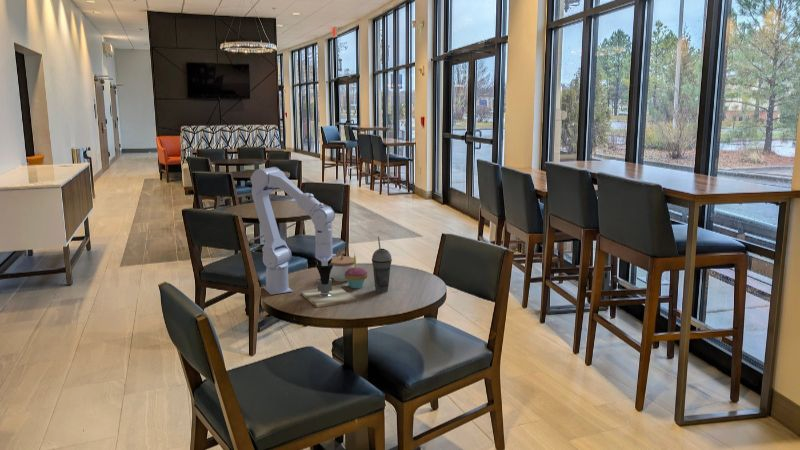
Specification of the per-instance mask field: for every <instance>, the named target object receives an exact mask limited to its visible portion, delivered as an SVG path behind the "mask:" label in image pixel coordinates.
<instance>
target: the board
mask: <svg viewBox="0 0 800 450" xmlns="http://www.w3.org/2000/svg"><path fill="white" fill-rule="evenodd" d="M300 293H301V296H303V297H304V298H305V299H307V301H309V303H311V304H313V306H315V308H323V307H329V306H330V305H331V306H335V305H341V304H342V303H343V304H347V303H355V302H357V298H356V297H354V296H353V295H351V294H350V293H349V292H347V290H345V289H343V288H342V287H340V286H339V285H335V286H332V291H329V293H331V296H328V297H320V296H319V294H320V293H321V292H320V291H318V288H315V289H309V290H302V291H301V292H300Z"/></svg>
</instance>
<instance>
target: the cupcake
mask: <svg viewBox="0 0 800 450" xmlns="http://www.w3.org/2000/svg"><path fill="white" fill-rule="evenodd" d="M353 254H354V256H353V258H354V268H350V269H348V270H347V271H346V272H345V278H346V279H347V281H346V282H347V283H348V286H349V288H350V289H360V288H361V289H362V287H363V285H364V282H365V280H366V279H368V271H366V270H365V268H362V267H358V266H357V256H356V255H355V253H353Z"/></svg>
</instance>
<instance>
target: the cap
mask: <svg viewBox="0 0 800 450" xmlns="http://www.w3.org/2000/svg"><path fill="white" fill-rule="evenodd" d="M332 281H333V279H332V278H329V283H328V284H323V285H322V283H321V278H318V279H317V289H318V291H320V292H328V291H332V287H333V282H332Z"/></svg>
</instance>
